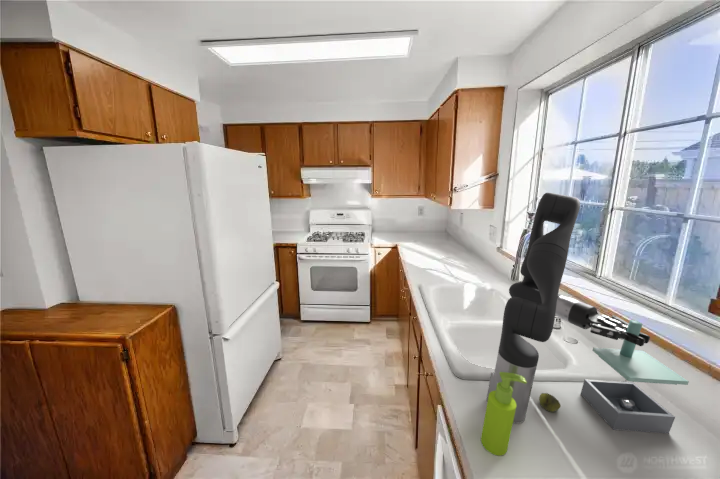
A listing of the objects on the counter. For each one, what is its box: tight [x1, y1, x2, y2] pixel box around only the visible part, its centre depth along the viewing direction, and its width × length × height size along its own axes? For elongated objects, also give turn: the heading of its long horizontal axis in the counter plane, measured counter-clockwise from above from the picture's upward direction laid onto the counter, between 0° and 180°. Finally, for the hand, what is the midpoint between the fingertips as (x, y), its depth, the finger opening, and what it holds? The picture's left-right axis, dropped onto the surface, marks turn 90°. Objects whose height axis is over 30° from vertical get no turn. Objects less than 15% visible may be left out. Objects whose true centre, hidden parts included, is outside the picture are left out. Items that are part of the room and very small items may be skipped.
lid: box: [592, 319, 690, 386], centre depth 74 cm, size 14×12×12 cm
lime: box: [538, 392, 561, 413], centre depth 79 cm, size 4×5×5 cm
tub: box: [580, 378, 676, 434], centre depth 79 cm, size 14×12×6 cm
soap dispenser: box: [480, 372, 527, 457], centre depth 67 cm, size 6×7×20 cm
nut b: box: [619, 397, 635, 411], centre depth 81 cm, size 3×3×2 cm
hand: (646, 341), depth 75 cm, fingers closed on lid, 2 cm apart
